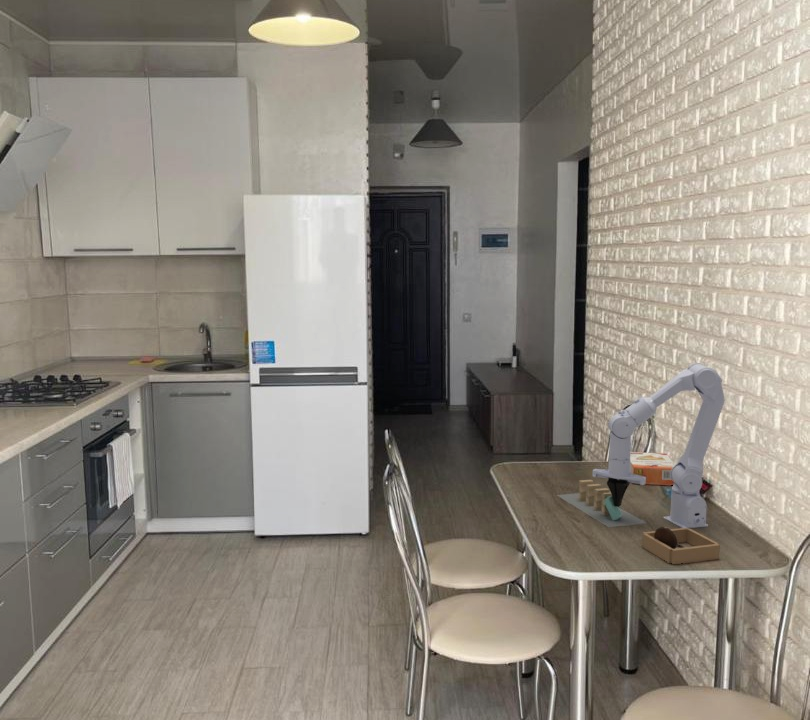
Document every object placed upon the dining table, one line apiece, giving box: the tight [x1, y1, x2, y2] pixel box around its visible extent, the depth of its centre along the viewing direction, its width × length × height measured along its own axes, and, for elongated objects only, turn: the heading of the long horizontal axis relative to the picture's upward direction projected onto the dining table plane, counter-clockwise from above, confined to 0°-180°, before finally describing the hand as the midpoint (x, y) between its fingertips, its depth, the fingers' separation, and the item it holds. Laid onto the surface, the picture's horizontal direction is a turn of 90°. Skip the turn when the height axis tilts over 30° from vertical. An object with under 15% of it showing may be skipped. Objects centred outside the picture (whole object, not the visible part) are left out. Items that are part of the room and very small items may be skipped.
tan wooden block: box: [594, 487, 611, 511], centre depth 228 cm, size 2×4×6 cm, turn 107°
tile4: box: [586, 483, 602, 506], centre depth 232 cm, size 2×4×6 cm, turn 107°
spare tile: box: [604, 496, 622, 520], centre depth 220 cm, size 2×4×6 cm, turn 147°
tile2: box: [602, 491, 612, 515], centre depth 224 cm, size 2×4×6 cm, turn 107°
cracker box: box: [630, 451, 676, 486], centre depth 264 cm, size 14×6×21 cm
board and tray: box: [556, 492, 721, 565], centre depth 217 cm, size 56×15×4 cm, turn 17°
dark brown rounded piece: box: [654, 526, 686, 549], centre depth 197 cm, size 8×8×7 cm
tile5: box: [577, 479, 594, 502], centre depth 236 cm, size 2×4×6 cm, turn 107°
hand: (617, 505), depth 220 cm, fingers closed
